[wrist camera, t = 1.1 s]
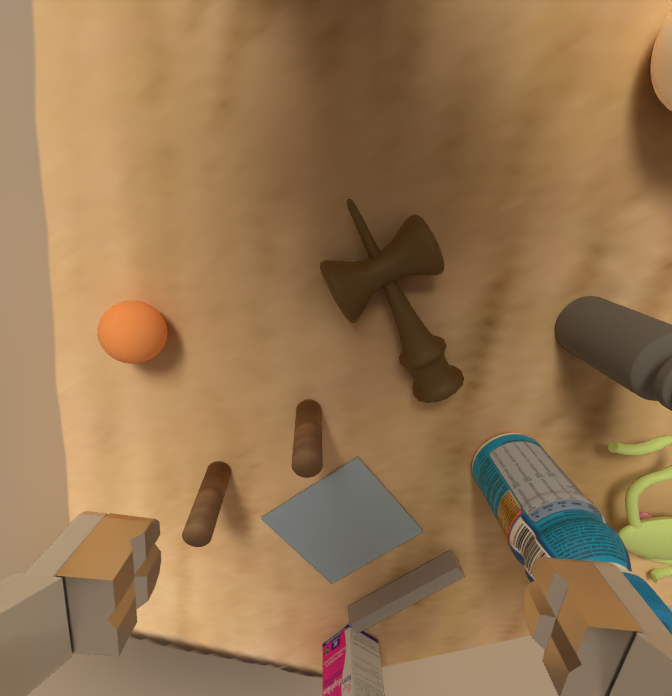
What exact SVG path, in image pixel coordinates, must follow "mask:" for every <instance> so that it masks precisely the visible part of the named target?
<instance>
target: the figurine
mask: <svg viewBox="0 0 672 696" xmlns="http://www.w3.org/2000/svg"><path fill="white" fill-rule="evenodd" d="M669 445H672V436H670V435H664V436H659V437H656V438H654V439H652V440H650V441H646V442H642V443H637V444H624V443H618V442H613V441H612V442H610V443H609V444H608V450H609V451H610V452H613V453H617V454H622V455H630V456H634V455H643V454H648V453H652V452H656V451H658V450H660V449H662V448H665V447H667V446H669ZM669 479H672V465H670V466H668V467H667V468H664V469H662V470H659V471H656V472H653V473H649V474H647V475H644V476H641V477H640V478H638V479H637V480H636V481H635V482H633V483H632V485H631V486H630V487H629V488H628V490H627V491H626V496H625V507H626V514H627V520H628V522H629V525H627V526H625V527H623V528H622V529H620V530H619V532H618V535H619V536H620V537H621V539H622V541H623V543H624V545H625V547H626V550H628V551H630V552H632V553H634V554H636V555H639V556H643V557H644V558H645V559H647V560H652V561H658V562H663V563H669V564H672V516H658V517H652V516H651V515H649V514H647V513H640V514H639V510H638V500H639V496H640V494H641V493H642V492H643V491H644V490H645V489H646V488H648V487H649V486H650V485H652V484H654V483H658V482H662V481H666V480H669ZM640 518H641V519H642V520H640ZM668 576H672V566H670V567H665V568H659V569H654V570H652V571H650V577H651V579H652V580H653V582H654V583H657V580H658V579H661V578H664V577H668Z"/></svg>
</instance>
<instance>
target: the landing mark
mask: <svg viewBox="0 0 672 696" xmlns="http://www.w3.org/2000/svg"><path fill="white" fill-rule="evenodd" d="M261 519H262V520H263V521H264V522H265V523H266V524H267V525H268V526H269V527H271V528H272V529H273V530H274V531H275V532H276V533H277V534H278V535H279V536H280V537H281V538H282V539H284V540H285V541H286V542H287V543H288V544H289V545H290V546H291V547H292V548H293V549H294V550H296V551H297V552H298V553H299V554H300V555H301V556H302V557H303V558H304V559H305V560H306V561H307V562H309V563H310V564H311V565H312V566H313V567H314V568H315V569H316V570H317V571H318V572H319V573H320V574H322V575H323V576H324V577H325V578H326V579H327V580H328V581H329V582H330V583H331V584H332V583H334V582H336V581H338V580H339V579H341V578H343V577H345V576H347V575H348V574H350V573H352V572H354V571H355V570H357V569H359V568H361V567H362V566H364V565H366V564H368V563H369V562H371V561H373V560H375V559H376V558H378V557H380V556H382V555H383V554H385V553H387V552H389V551H391V550H392V549H394V548H396V547H398V546H399V545H401V544H403V543H405V542H406V541H408V540H410V539H412V538H413V537H415V536H417V535H419V534H420V533H422V532H423V530H422V529H421V528H420V526H419V525H418V524H417V523H416V522H415V521H414V520H413V518H412V517H411V516H410V515H409V514H408V513H407V512H406V511H405V509H404V508H403V507H402V506H401V505H400V504H399V503H398V501H397V500H396V499H395V498H394V497H393V496H392V495H391V494H390V492H389V491H388V490H387V489H386V488H385V487H384V486H383V484H382V483H381V482H380V481H379V480H378V479H377V478H376V477H375V475H374V474H373V473H372V472H371V471H370V470H369V469H368V467H367V466H366V465H365V464H364V463H363V462H362V461H361V460H360V458H359V457H356V458H354V459H353V460H351V461H350V462H348V463H347V464H345V465H343V466H342V467H340V468H339V469H337V470H335V471H334V472H332V473H331V474H329V475H328V476H326V477H324V478H323V479H321V480H320V481H318V482H316V483H315V484H313V485H312V486H310V487H309V488H307V489H305V490H304V491H302V492H301V493H299V494H297V495H296V496H294V497H293V498H291V499H290V500H288V501H286V502H285V503H283V504H282V505H280V506H278V507H277V508H275V509H274V510H272V511H271V512H269V513H267V514H266V515H264V516H263V517H261Z"/></svg>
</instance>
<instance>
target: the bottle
mask: <svg viewBox="0 0 672 696" xmlns="http://www.w3.org/2000/svg"><path fill="white" fill-rule="evenodd" d="M555 334H556V338H557V340H558V342H559V343H560V344H561V345H562V347H564V348H565V349H567V350H568V351H569V352H571V353H573V354H574V355H576V356H577V357H579V358H580V359H582V360H583V361H585V362H586V363H588V364H589V365H591V366H593V367H594V368H596V369H597V370H599V371H600V372H602V373H603V374H605V375H606V376H608V377H610V378H611V379H613V380H614V381H616V382H617V383H619V384H621V385H622V386H624V387H625V388H627V389H628V390H630V391H632V392H633V393H635V394H637V395H638V396H640V397H642V398H644V399H647V400H653V401H659V402H660V403H661V404H662V405H663V406H665V407H666V408H668V409H669V410H671V411H672V325H670V324H668V323H665V322H663V321H660V320H657V319H655V318H652V317H650V316H647V315H644V314H642V313H639V312H637V311H634V310H631V309H629V308H626V307H624V306H621V305H618V304H616V303H613V302H610V301H607V300H605V299H602V298H599V297H593V296H590V297H583V298H579V299H577V300H575V301H573V302H572V303H570V304H569V305H568V306H567V307H566V308H565V309H564V310H563V311H562V312H561V314H560V315H559V317H558V319H557V322H556V326H555Z"/></svg>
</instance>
